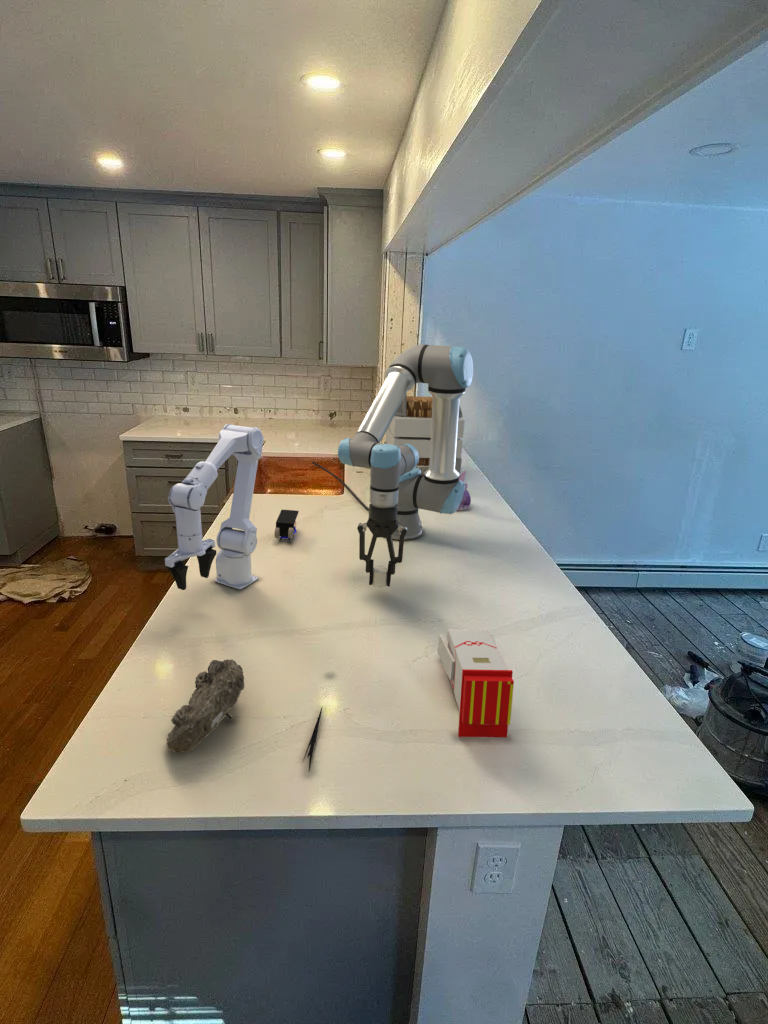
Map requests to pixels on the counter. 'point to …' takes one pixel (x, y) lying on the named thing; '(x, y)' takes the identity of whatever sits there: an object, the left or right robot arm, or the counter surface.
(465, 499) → the figurine
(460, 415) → the white slatted crate
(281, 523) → the black wheeled cart
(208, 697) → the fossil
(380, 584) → the can
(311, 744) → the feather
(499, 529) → the counter surface
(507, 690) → the toy
